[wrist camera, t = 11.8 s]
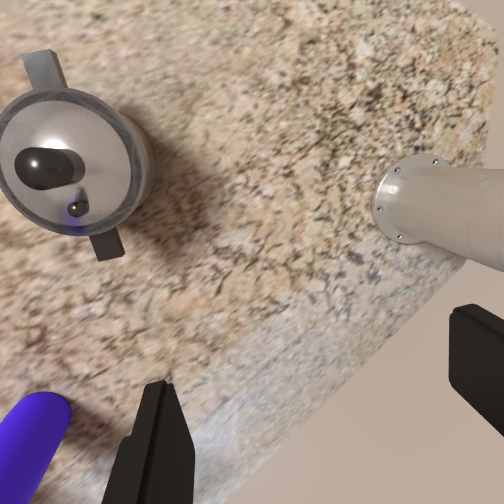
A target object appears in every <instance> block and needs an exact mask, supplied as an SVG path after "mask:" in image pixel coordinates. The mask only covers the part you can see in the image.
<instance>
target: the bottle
mask: <svg viewBox="0 0 504 504" xmlns="http://www.w3.org/2000/svg"><path fill="white" fill-rule="evenodd" d="M70 420H71V408H70V406H69V404H68V402H67V401H66V400H65V399H64V398H62V397H61V396H59V395H57V394H54V393H50V392H36V393H33V394H30V395H27V396H26V397H24V398H23V399H21V400H20V401H19V402H18V403H17V404H16V405H15V406H14V408H13V409H12V410H11V411H10V412H9V413H8V415H7V416H6V417H5V418H4V419H3V421H2V422H1V423H0V504H29V502H30V501H31V499H32V497H33V495H34V493H35V491H36V489H37V487H38V485H39V483H40V481H41V479H42V477H43V476H44V474H45V472H46V470H47V468H48V466H49V464H50V462H51V460H52V458H53V456H54V454H55V452H56V450H57V448H58V446H59V444H60V442H61V440H62V438H63V436H64V434H65V432H66V430H67V428H68V425H69V422H70Z"/></svg>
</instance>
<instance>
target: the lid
mask: <svg viewBox="0 0 504 504" xmlns="http://www.w3.org/2000/svg"><path fill="white" fill-rule="evenodd" d="M0 164H1V168H2V172H3V175H4V178H5V180H6V182H7V184H8V186H9V188H10V189H11V191H12V192H13V194H14V195H15V196H16V197H17V198H18V200H19V201H20V202H21V203H22V204H23V205H24V206H25V207H27V208H28V209H29V210H31V211H32V212H33V213H35V214H36V215H38V216H40V217H42V218H44V219H46V220H48V221H51V222H54V223H57V224H62V225H69V226H82V225H89V224H92V223H96V222H98V221H100V220H103V219H104V218H106V217H108V216H109V215H111V214H112V213H114V212H115V211H116V210H117V209H118V208H119V207H120V206H121V205H122V204H123V202H124V201H125V199H126V198H127V196H128V193H129V191H130V188H131V184H132V178H133V168H132V161H131V157H130V153H129V151H128V148H127V146H126V144H125V142H124V140H123V139H122V137H121V136H120V134H119V133H118V132H117V130H116V129H115V128H114V127H113V126H112V125H111V124H110V123H109V122H108V121H107V120H106V119H104V118H103V117H102V116H100V115H99V114H97V113H95V112H93V111H92V110H89V109H87V108H85V107H82V106H80V105H77V104H73V103H70V102H64V101H44V102H39V103H35V104H33V105H30V106H28V107H26V108H24V109H23V110H21V111H20V112H18V113H17V114H16V115H15V116H14V117H13V118H12V119H11V121H10V122H9V123H8V125H7V126H6V128H5V130H4V133H3V135H2V138H1V143H0Z"/></svg>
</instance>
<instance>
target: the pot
mask: <svg viewBox="0 0 504 504" xmlns="http://www.w3.org/2000/svg"><path fill="white" fill-rule="evenodd" d="M20 56H21V58H22V61H23V64H24V66H25V69H26V72H27V74H28V77H29V79H30V82H31V85H32V87H33V90H32V91H30V92H27V93H25V94H23V95H21V96H19V97H18V98H16V99H15V100H13V101H12V102H11V103H10V104H9V105H8V106H7V107H6V108H5V109H4V110H3V112H2V113H1V114H0V143H1V138H2V135H3V133H4V130H5V128H6V126H7V125H8V123H9V122H10V121H11V119H12V118H13V117H14V116H15V115H16V114H17V113H18V112H20V111H21V110H23V109H24V108H26V107H28V106H30V105H33V104H35V103H39V102H44V101H64V102H70V103H73V104H77V105H80V106H82V107H85V108H87V109H89V110H92V111H93V112H95V113H97V114H99V115H100V116H102V117H103V118H104V119H106V120H107V121H108V122H109V123H110V124H111V125H112V126H113V127H114V128H115V129H116V130H117V132H118V133H119V134H120V136H121V137H122V139H123V140H124V142H125V144H126V146H127V148H128V151H129V153H130V157H131V161H132V168H133V178H132V184H131V188H130V191H129V193H128V196H127V198H126V199H125V201H124V202H123V204H122V205H121V206H120V207H119V208H118V209H117V210H116V211H115V212H114V213H112V214H111V215H109V216H108V217H106V218H104V219H103V220H100V221H98V222H96V223H92V224H89V225H82V226H69V225H62V224H57V223H54V222H51V221H48V220H46V219H44V218H42V217H40V216H38V215H36V214H35V213H33V212H32V211H31V210H29V209H28V208H27V207H25V206H24V205H23V204H22V203H21V202H20V201H19V200H18V198H17V197H16V196H15V195H14V194H13V192H12V191H11V189H10V188H9V186H8V184H7V182H6V180H5V178H4V175H3V172H2V168H1V164H0V188H1V190H2V191H3V193H4V194H5V196H6V197H7V199H8V200H9V201H10V202H11V204H12V205H13V206H14V207H15V208H16V209H17V210H18V211H19V212H20V213H21V214H22V215H24V216H25V217H26V218H28V219H29V220H30V221H32V222H34V223H35V224H37V225H39V226H41V227H43V228H45V229H47V230H50V231H53V232H56V233H59V234H64V235H70V236H89V238H90V240H91V243H92V246H93V248H94V251H95V254H96V256H97V259H98V262H100V261H105V260H109V259H114V258H118V257H122V256H123V255H124V254H125V251H124V248H123V245H122V242H121V239H120V237H119V234H118V231H117V228H116V226H118V225H119V224H121V223H122V222H123V221H124V220H126V219H127V218H128V217H129V216H130V215H131V214H132V213H133V212H134V210H135V209H136V208H138V207H139V206H140V205H141V204H143V202H144V201H145V200H146V199H147V198H148V196H149V195H150V193H151V191H152V189H153V187H154V184H155V181H156V175H157V162H156V157H155V153H154V150H153V147H152V145H151V143H150V141H149V139H148V137H147V136H146V134H145V133H144V132H143V130H142V129H141V128H140V127H139V126H138V125H137V124H136V123H135V122H134V121H133V120H131V119H130V118H129V117H127V116H125V115H124V114H122V113H120V112H118V111H116V110H115V109H113V108H112V107H111V106H109V105H108V104H107V103H105V102H103V101H102V100H100V99H98V98H96V97H94V96H92V95H90V94H87V93H85V92H82V91H79V90H75V89H71V88H68V86H67V83H66V80H65V78H64V75H63V72H62V69H61V66H60V63H59V60H58V57H57V54H56V53H55V52H53V51H52V50H50V49H48V50H42V51H37V52H31V53H26V54H20Z"/></svg>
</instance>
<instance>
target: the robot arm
mask: <svg viewBox="0 0 504 504" xmlns="http://www.w3.org/2000/svg"><path fill="white" fill-rule="evenodd" d="M378 207H379V208H378ZM377 209H378V210H377ZM372 214H373V218H374V221H375V223H376V226H377V227H378V229H379V230H380V231H381V232H382V233H383V234H384V235H385V236H386V237H388V238H390V239H392V240H394V241H396V242H399V243H404V244H415V243H419V242H423V241H426V242H428V243H431V244H433V245H436V246H438V247H441V248H443V249H445V250H448V251H450V252H453V253H455V254H458V255H460V256H463V257H465V258H468V259H470V260H473V261H475V262H478V263H480V264H483V265H486V266H488V267H491V268H493V269H496V270H499V271H502V272H504V170H503V169H483V168H462V167H451V166H450V165H449V164H448V162H447V161H445V160H444V159H442V158H441V157H438V156H435V155H432V154H414V155H409V156H406V157H404V158H402V159H400V160H398V161H397V162H395V163H394V164H392V165H391V166H390V167H389V168H388V169H387V170H386V171H385V172H384V174H383V175H382V176H381V178H380V179H379V181H378V183H377V185H376V187H375V190H374V193H373V198H372ZM449 381H450V383H451V385H452V387H453V388H454V389H455V390H456V391H457V392H458V393H459V394H460V395H461V396H462V397H463V398H464V399H465V400H466V401H467V402H468V403H469V404H470V405H471V406H472V407H473V408H474V409H475V410H476V411H478V413H479V414H480V415H482V416H483V417H484V418H485V419H486V420H487V421H488V422H489V423H490V424H491V425H492V426H493V427H494V428H495V429H496V430H497V431H498V432H499V433H500V434H501V435H502V436H503V437H504V320H503V319H501V318H499V317H498V316H496V315H494V314H492V313H491V312H489V311H487V310H485V309H483V308H482V307H480V306H478V305H475V304H468V305H464V306H460V307H456V308H454V310H453V313H452V314H451V315H450V318H449ZM194 472H195V449H194V444H193V441H192V438H191V436H190V433H189V430H188V427H187V424H186V421H185V418H184V415H183V412H182V409H181V406H180V403H179V400H178V398H177V395H176V392H175V389H174V386H173V384H172V383H170V384H167V382H166V381H165V380H162V381H158V382H154V383H150V384H147V385H146V386H145V388H144V392H143V395H142V399H141V402H140V406H139V409H138V413H137V416H136V420H135V423H134V427H133V430H132V434H131V436H127V437H124V438H123V439H122V441H121V443H120V446H119V449H118V452H117V455H116V458H115V462H114V465H113V468H112V471H111V474H110V477H109V481H108V484H107V487H106V490H105V493H104V496H103V500H102V503H101V504H193V492H194Z"/></svg>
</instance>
